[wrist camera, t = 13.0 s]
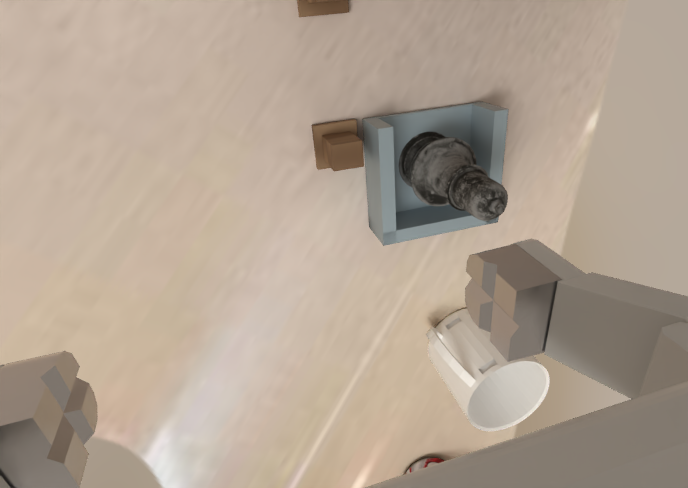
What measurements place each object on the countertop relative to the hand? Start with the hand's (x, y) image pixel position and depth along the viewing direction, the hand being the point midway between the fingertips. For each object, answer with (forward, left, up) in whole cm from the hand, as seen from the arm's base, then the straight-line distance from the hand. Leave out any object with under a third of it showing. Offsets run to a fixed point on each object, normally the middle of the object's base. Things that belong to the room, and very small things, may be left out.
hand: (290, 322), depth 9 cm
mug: (+28, +20, -28) cm, 44 cm away
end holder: (+7, +16, -28) cm, 33 cm away
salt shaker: (+7, +16, -28) cm, 33 cm away
